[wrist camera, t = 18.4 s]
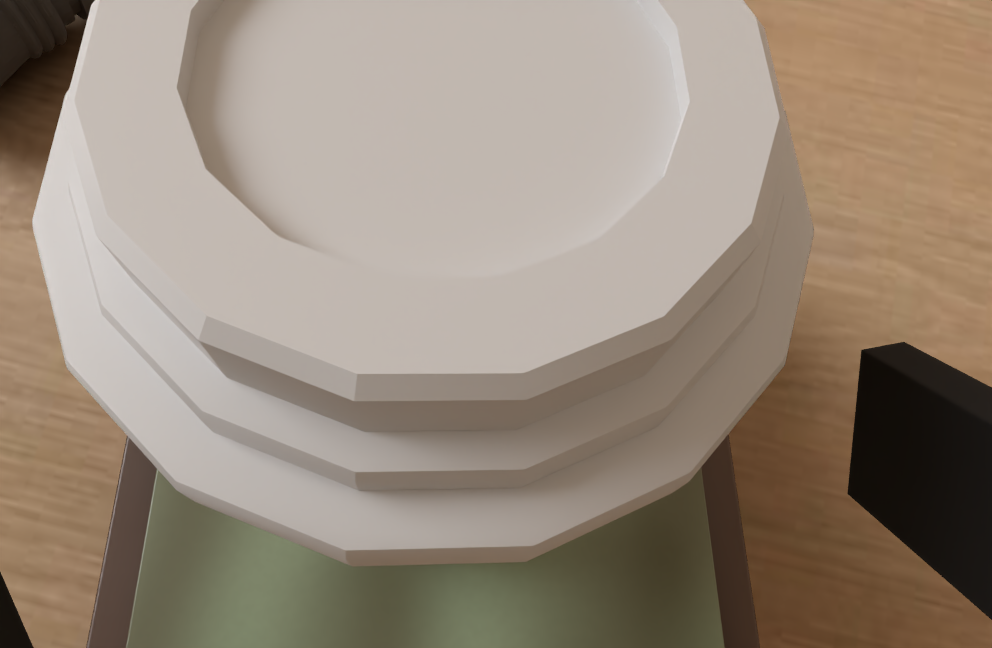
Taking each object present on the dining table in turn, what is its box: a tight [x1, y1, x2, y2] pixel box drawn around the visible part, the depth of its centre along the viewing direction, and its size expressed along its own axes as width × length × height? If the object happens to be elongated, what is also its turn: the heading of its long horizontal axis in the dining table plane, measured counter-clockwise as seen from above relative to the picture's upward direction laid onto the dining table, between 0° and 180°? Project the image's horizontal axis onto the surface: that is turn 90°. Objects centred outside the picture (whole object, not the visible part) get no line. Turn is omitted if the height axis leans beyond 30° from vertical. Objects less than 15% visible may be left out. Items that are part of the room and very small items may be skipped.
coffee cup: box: [32, 0, 814, 566], centre depth 13 cm, size 9×9×12 cm
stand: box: [86, 435, 760, 648], centre depth 21 cm, size 15×15×6 cm
